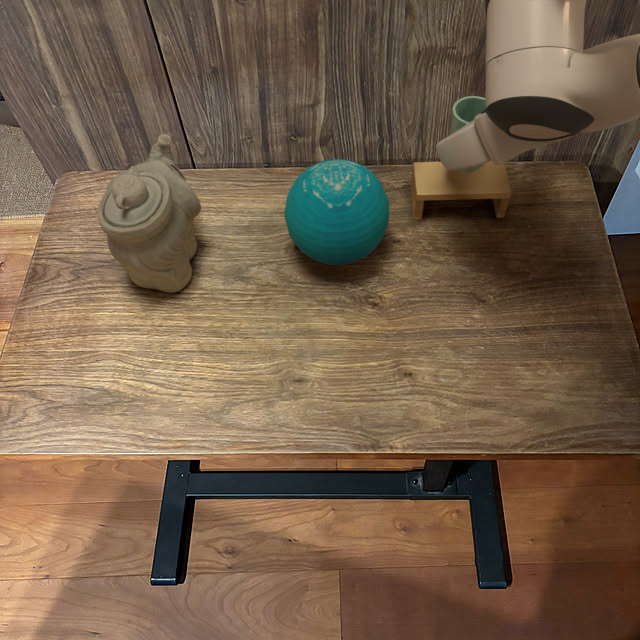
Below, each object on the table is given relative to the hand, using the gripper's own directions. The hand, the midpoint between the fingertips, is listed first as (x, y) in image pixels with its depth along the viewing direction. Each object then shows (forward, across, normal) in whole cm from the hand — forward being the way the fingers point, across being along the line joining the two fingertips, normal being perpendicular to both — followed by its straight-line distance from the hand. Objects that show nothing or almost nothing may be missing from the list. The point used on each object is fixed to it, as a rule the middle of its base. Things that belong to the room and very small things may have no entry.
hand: (466, 132), depth 88 cm
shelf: (+9, 0, +10) cm, 14 cm away
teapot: (+25, +40, -5) cm, 48 cm away
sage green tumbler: (+3, 0, +4) cm, 5 cm away
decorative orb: (+13, +20, +6) cm, 25 cm away
